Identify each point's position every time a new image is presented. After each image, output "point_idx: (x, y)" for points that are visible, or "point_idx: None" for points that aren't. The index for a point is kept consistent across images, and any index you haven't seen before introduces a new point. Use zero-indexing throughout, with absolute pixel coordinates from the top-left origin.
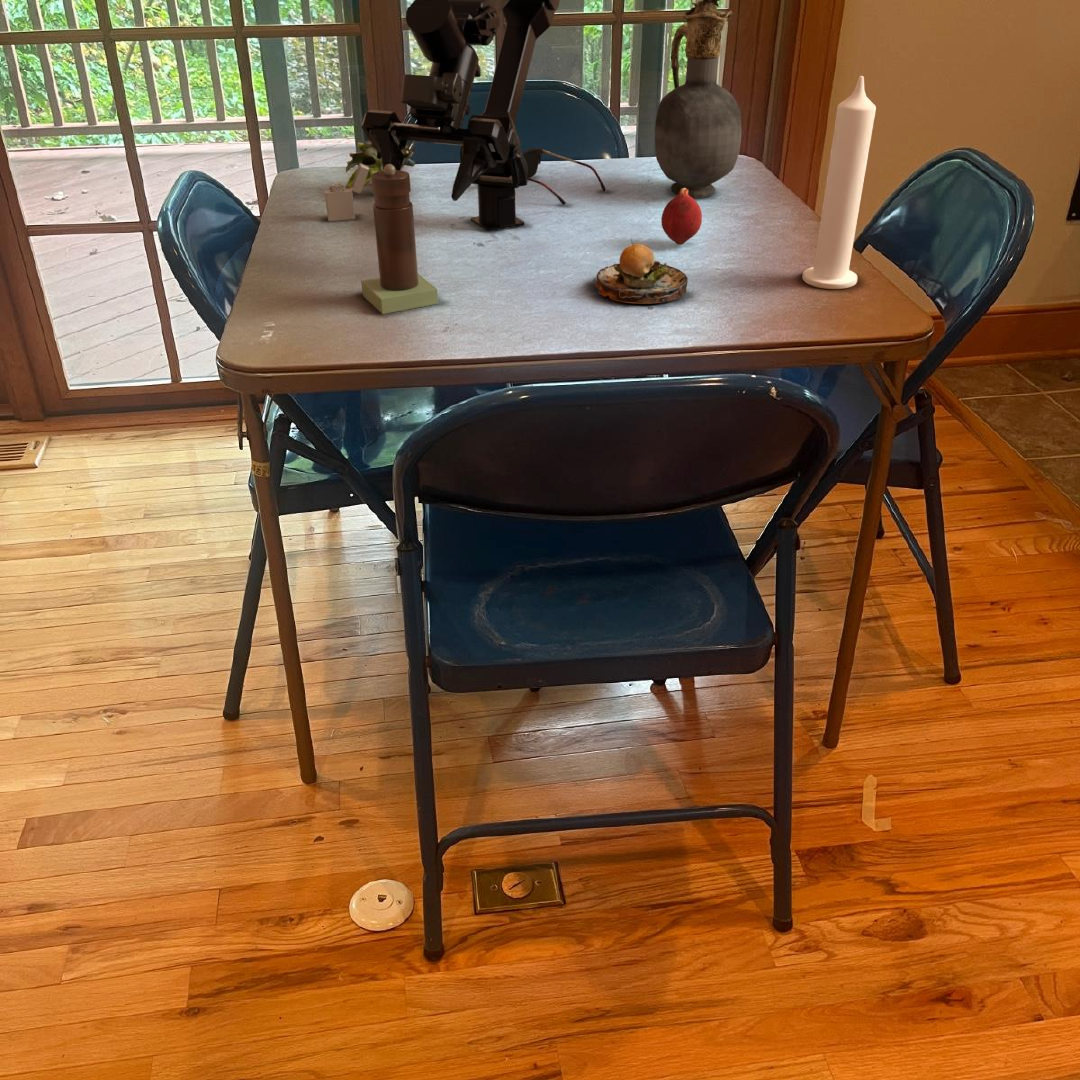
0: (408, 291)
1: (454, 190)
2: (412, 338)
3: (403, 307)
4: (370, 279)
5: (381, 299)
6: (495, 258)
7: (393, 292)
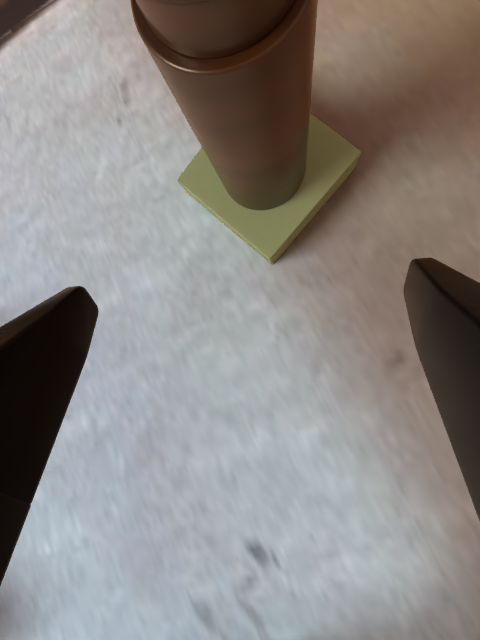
0: None
1: (54, 298)
2: None
3: None
4: (343, 167)
5: None
6: (192, 473)
7: None
